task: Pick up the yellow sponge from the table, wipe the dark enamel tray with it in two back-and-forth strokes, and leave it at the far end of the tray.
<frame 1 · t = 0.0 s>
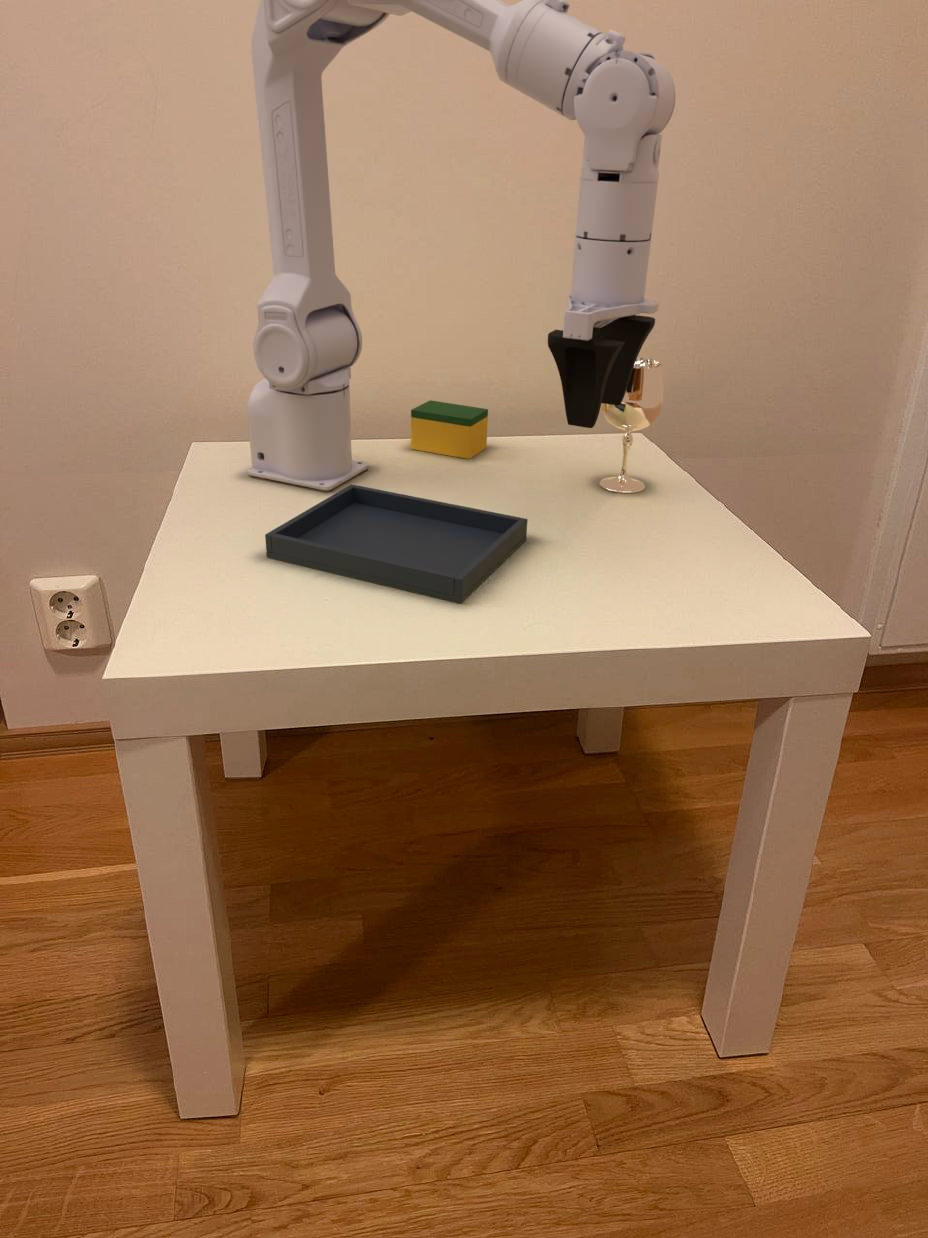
hand: (595, 413, 76), 10 cm above the table, tool pointing down, fingers open, 7 cm apart
sponge: (448, 448, 99), on the table
tray: (400, 548, 75), on the table
wineglass: (621, 487, 90), on the table
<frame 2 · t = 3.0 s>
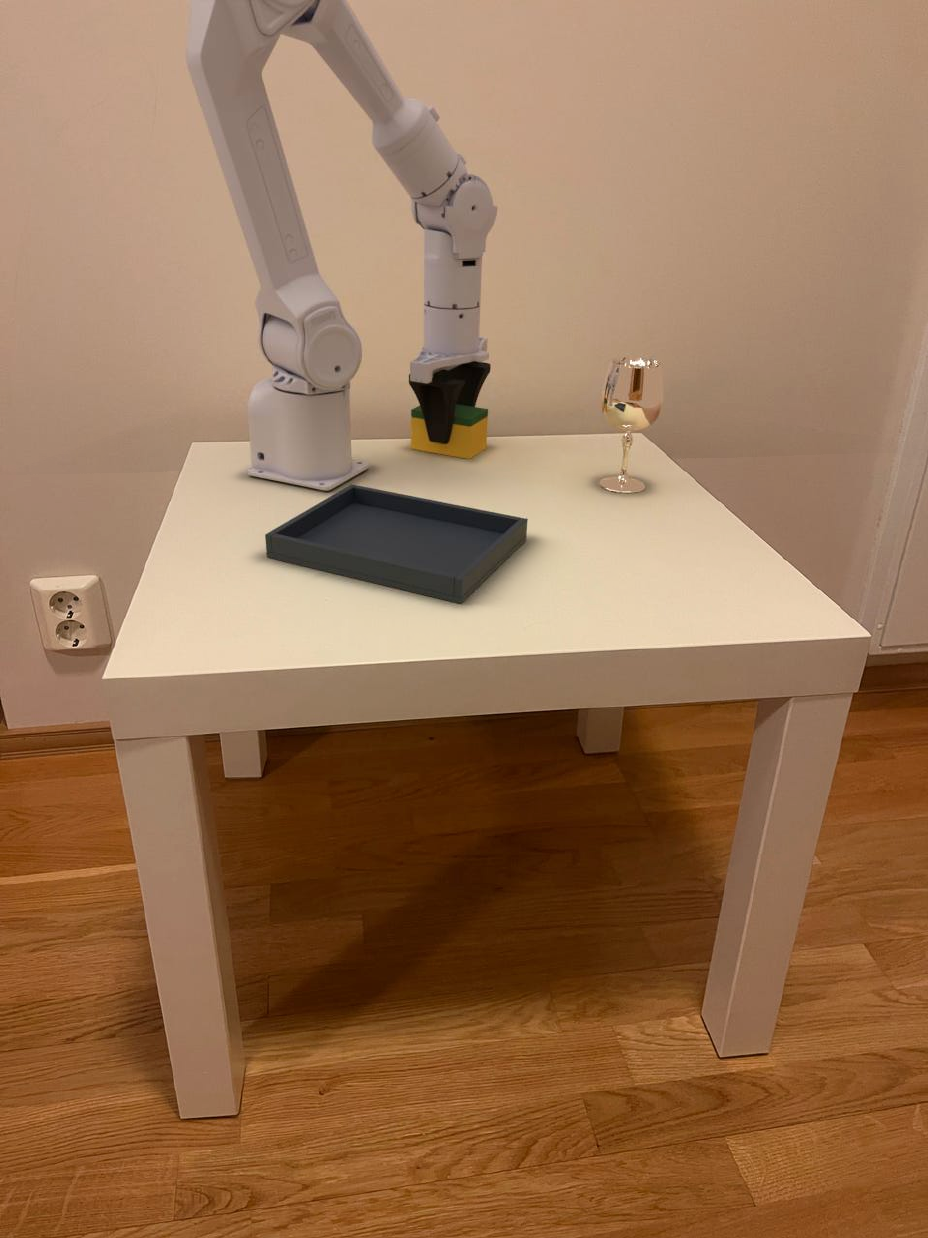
hand: (449, 435, 98), 1 cm above the table, tool pointing down, fingers closed on sponge, 4 cm apart
sponge: (449, 448, 99), on the table, touching gripper
everything else where it was.
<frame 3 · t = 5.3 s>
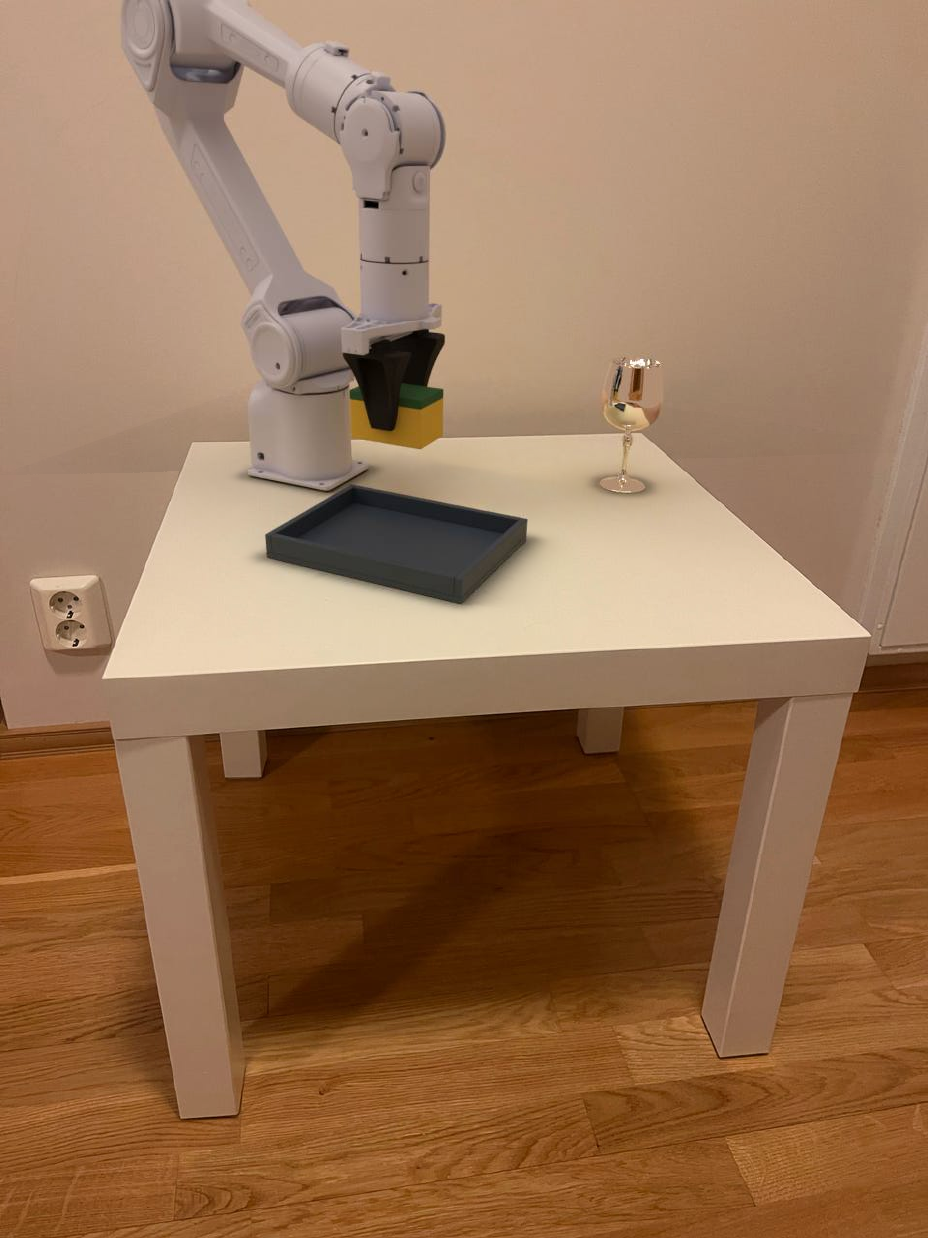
hand: (395, 421, 81), 7 cm above the table, tool pointing down, fingers closed on sponge, 4 cm apart
sponge: (397, 436, 82), point 6 cm above the table, touching gripper
everything else where it was.
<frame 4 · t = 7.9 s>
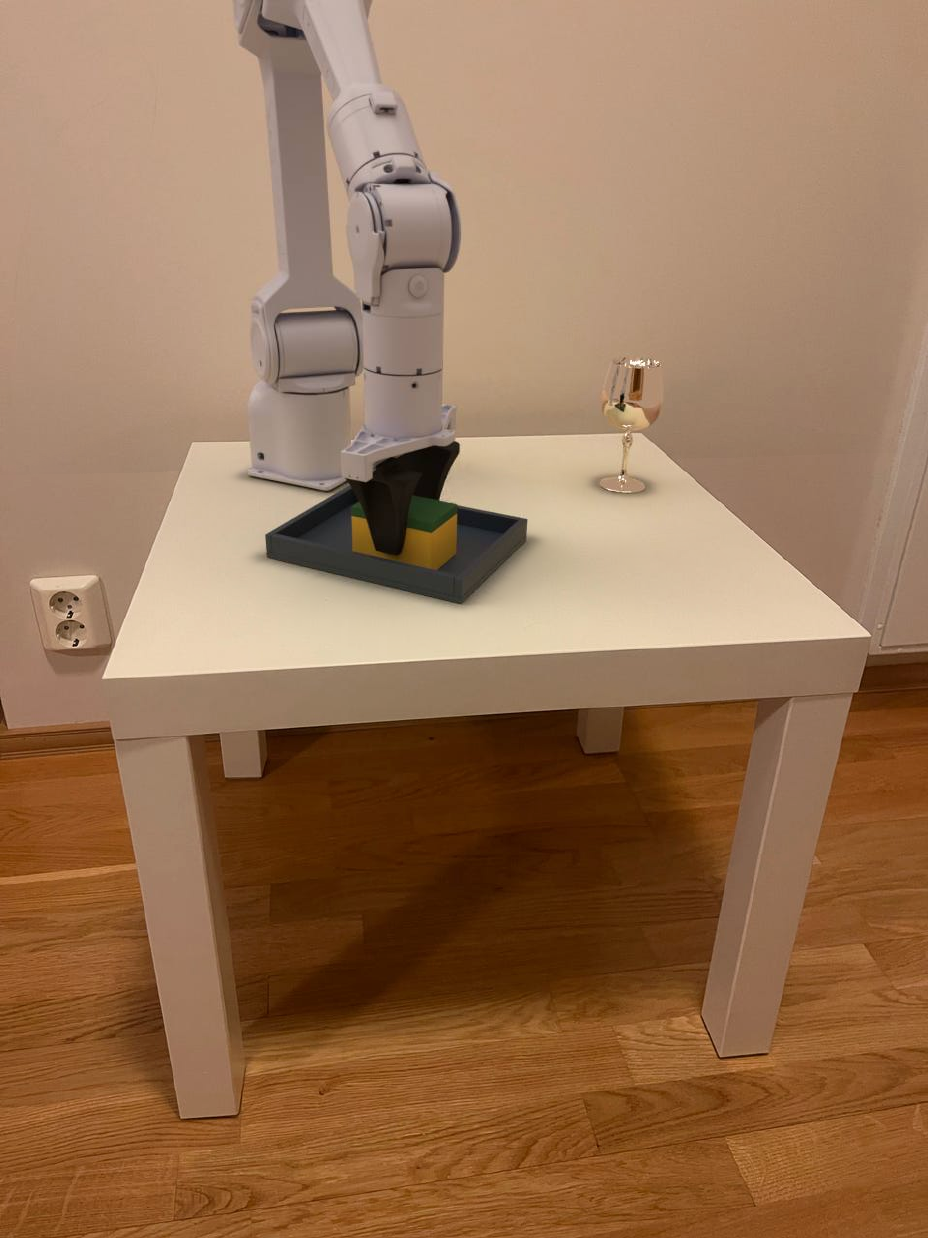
hand: (403, 540, 72), 2 cm above the table, tool pointing down, fingers closed on sponge, 4 cm apart
sponge: (404, 555, 73), point 1 cm above the table, touching gripper
everything else where it was.
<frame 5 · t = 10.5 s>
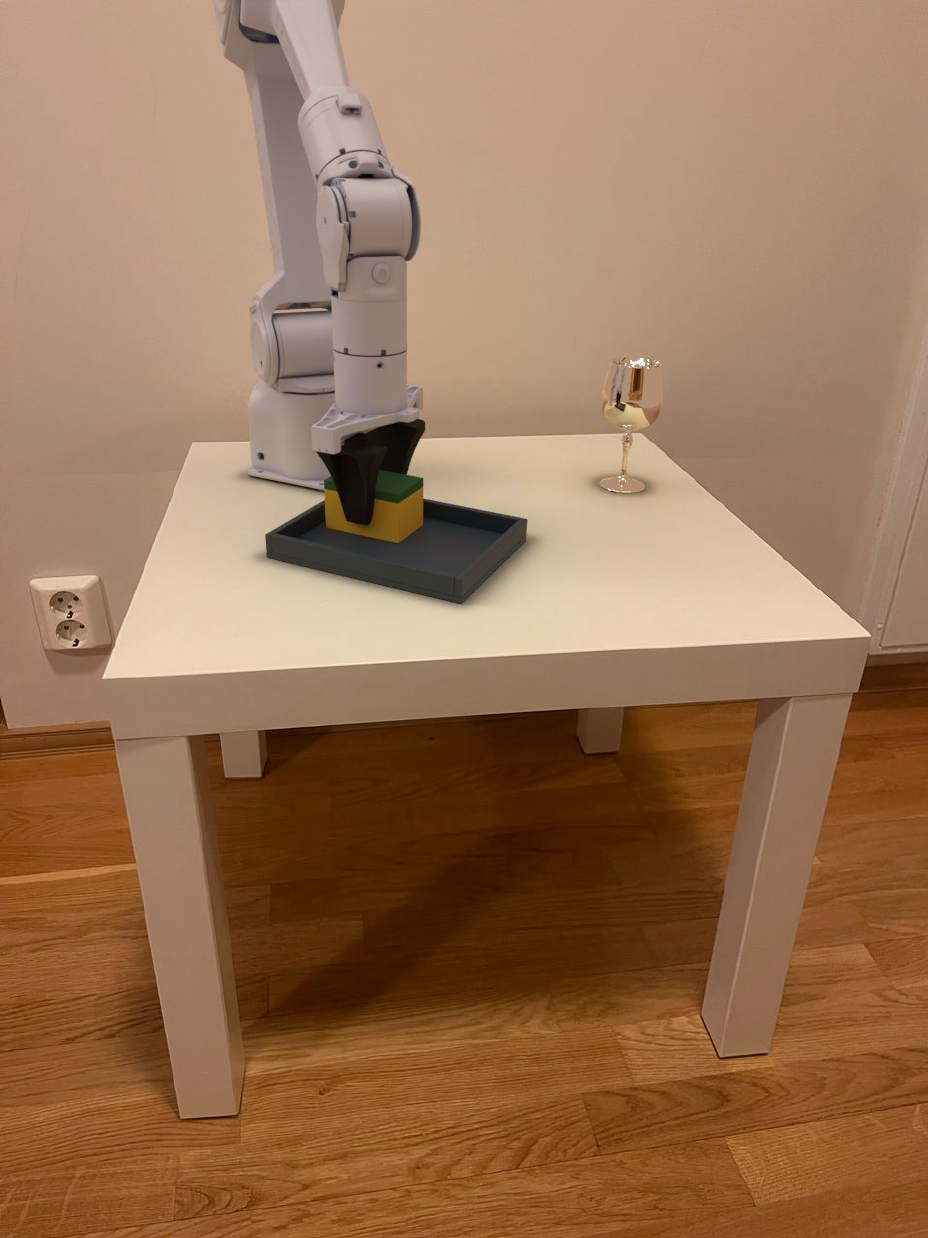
hand: (373, 512, 77), 2 cm above the table, tool pointing down, fingers closed on sponge, 4 cm apart
sponge: (374, 526, 78), point 1 cm above the table, touching gripper
everything else where it was.
when the fingers open (2 cm above the table, at t = 12.8 s): sponge stays where it is, resting on tray.
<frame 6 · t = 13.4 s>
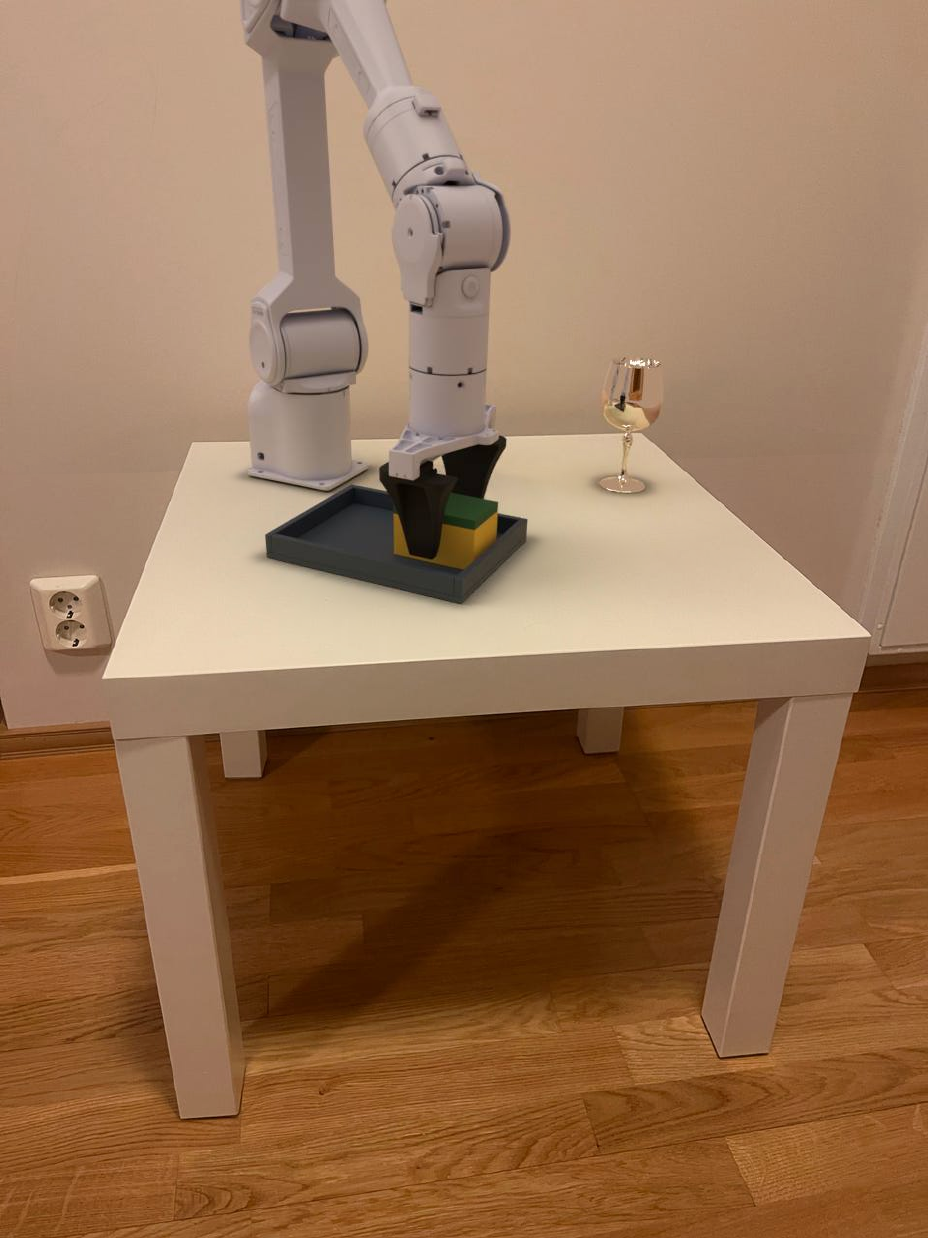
hand: (444, 538, 73), 2 cm above the table, tool pointing down, fingers open, 7 cm apart
sponge: (445, 552, 73), resting on tray
everything else where it was.
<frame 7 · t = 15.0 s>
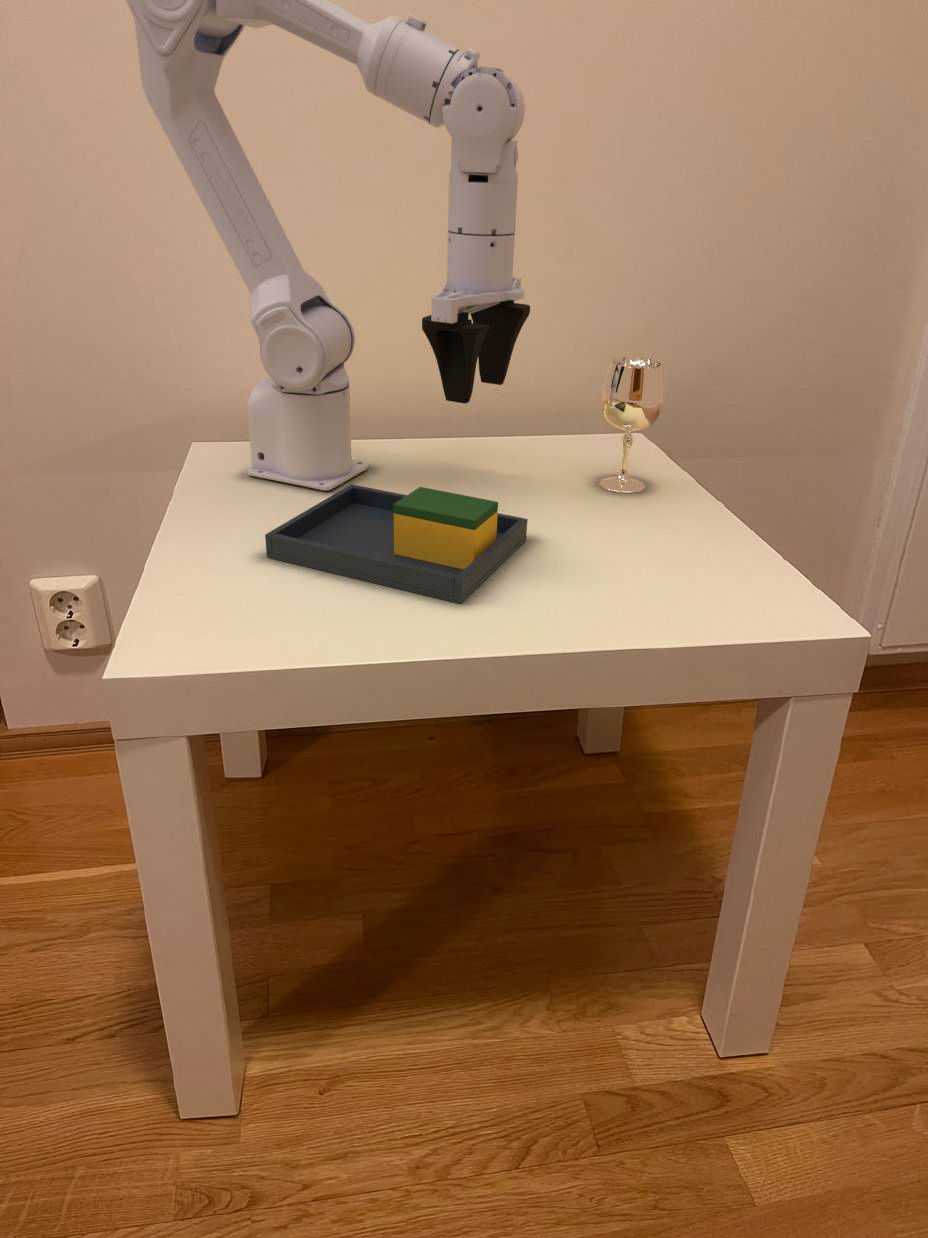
hand: (475, 391, 84), 9 cm above the table, tool pointing down, fingers open, 7 cm apart
nothing on the table moved.
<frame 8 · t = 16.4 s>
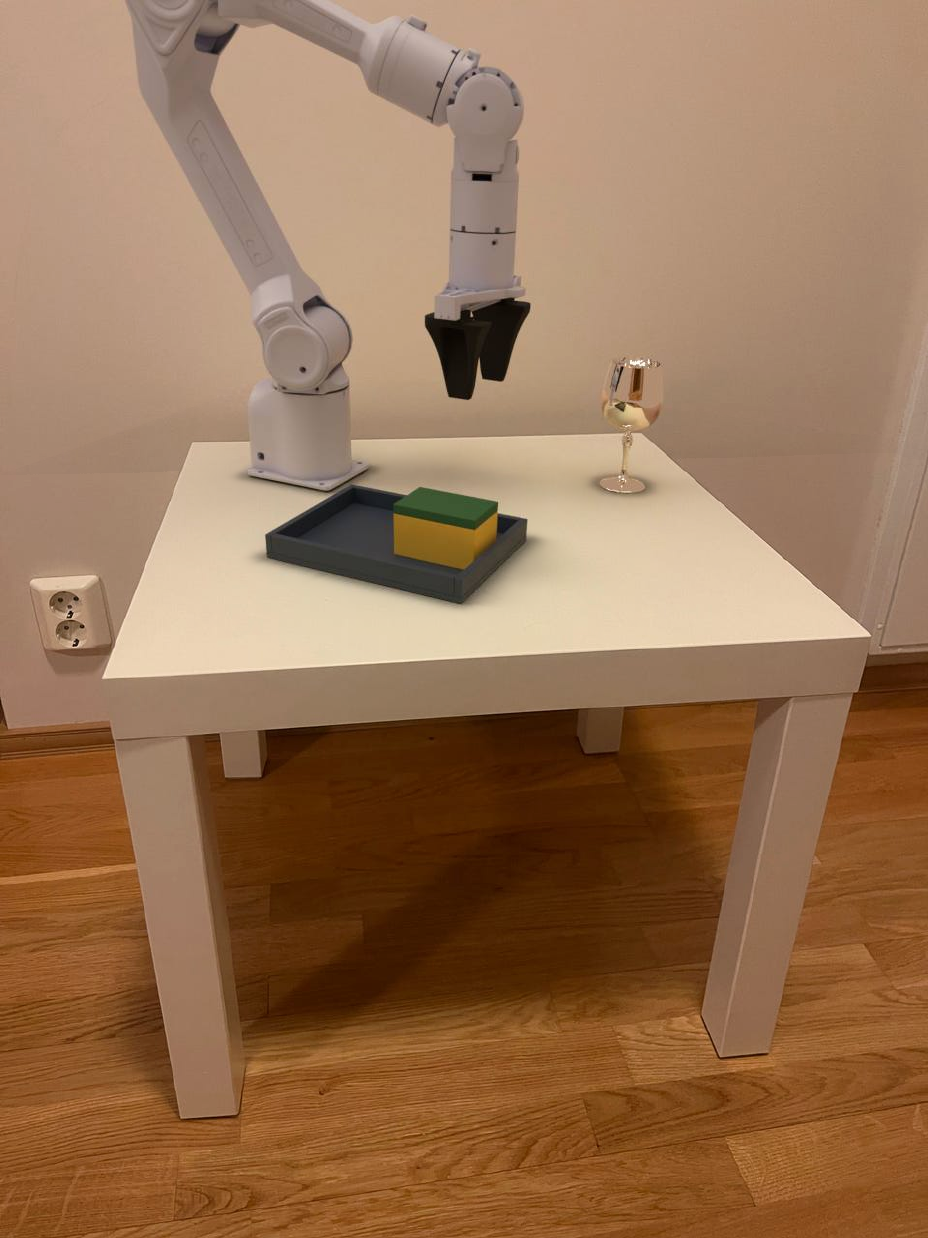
hand: (477, 388, 84), 9 cm above the table, tool pointing down, fingers open, 7 cm apart
nothing on the table moved.
at the end: sponge inside the target area in the tray (0.8 cm from its centre), point 0.5 cm above the tray's base; sponge moved 28.6 cm from its start; the gripper is holding nothing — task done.
